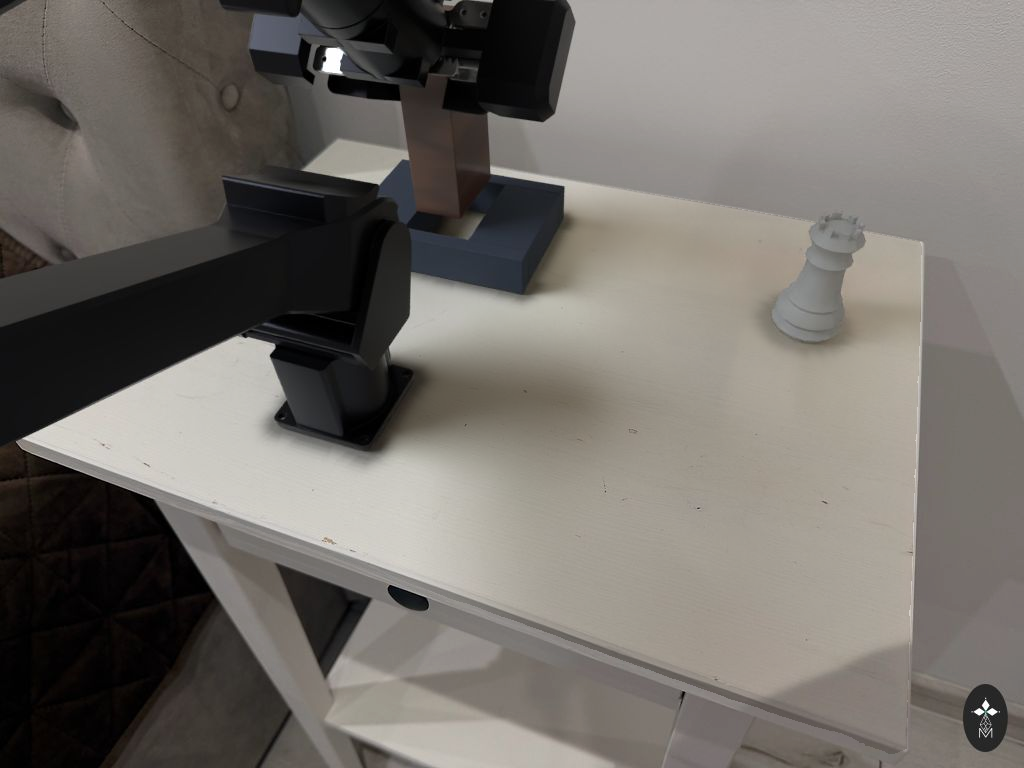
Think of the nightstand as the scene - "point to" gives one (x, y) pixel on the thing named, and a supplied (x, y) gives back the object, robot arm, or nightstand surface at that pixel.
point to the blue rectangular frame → (483, 231)
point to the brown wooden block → (444, 149)
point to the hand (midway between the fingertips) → (454, 99)
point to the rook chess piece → (820, 281)
